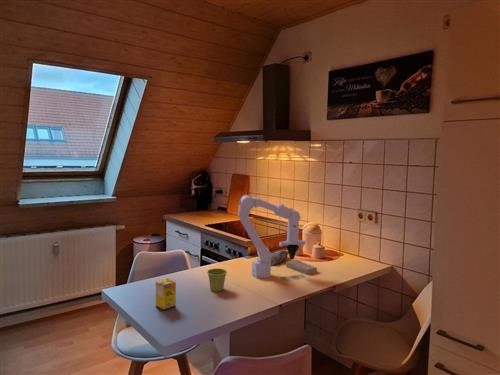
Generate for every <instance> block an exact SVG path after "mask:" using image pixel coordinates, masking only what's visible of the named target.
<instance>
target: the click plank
mask: <svg viewBox="0 0 500 375" xmlns="http://www.w3.org/2000/svg"><path fill="white" fill-rule="evenodd" d="M303 279H307V277H305V278H297V279H289V280H285V281H286V282H288V281H289V282H290V281H296V280H303Z"/></svg>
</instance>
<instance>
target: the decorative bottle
mask: <svg viewBox="0 0 500 375" xmlns="http://www.w3.org/2000/svg"><path fill="white" fill-rule="evenodd" d="M271 254H272V258H271V267H273V266H275V265H277V264H279V263H281V262H284V261H285V260H286V259H287V258H288V257H289V252H288V250H285V249H279V250H277V251H274V252H271Z"/></svg>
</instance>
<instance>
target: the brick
mask: <svg viewBox="0 0 500 375" xmlns="http://www.w3.org/2000/svg"><path fill="white" fill-rule="evenodd" d="M285 265H286V266H285V268H288V269H290V270H292V271H295V272H298V273H300V274H302V275H305V276H308V275H309V276H310V275H312V274H316V273H318V270H317V269H318V267H316V266H314V265H312V264H307V263H306V262H303V261H301V260H299V259H291V260H289V261H286V262H285Z"/></svg>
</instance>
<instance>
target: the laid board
mask: <svg viewBox="0 0 500 375" xmlns="http://www.w3.org/2000/svg"><path fill="white" fill-rule="evenodd" d="M280 278H281V279H282V280H283V281H286V280H289V281H290V279H298V278H306V275H305V274H294V275H289V276H287V275H286V276H280Z"/></svg>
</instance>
